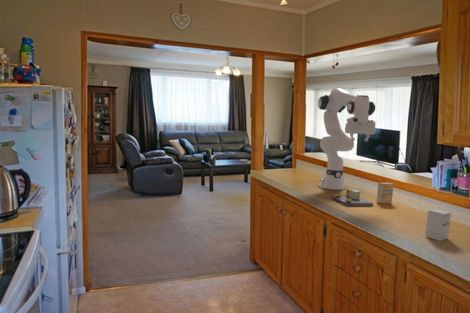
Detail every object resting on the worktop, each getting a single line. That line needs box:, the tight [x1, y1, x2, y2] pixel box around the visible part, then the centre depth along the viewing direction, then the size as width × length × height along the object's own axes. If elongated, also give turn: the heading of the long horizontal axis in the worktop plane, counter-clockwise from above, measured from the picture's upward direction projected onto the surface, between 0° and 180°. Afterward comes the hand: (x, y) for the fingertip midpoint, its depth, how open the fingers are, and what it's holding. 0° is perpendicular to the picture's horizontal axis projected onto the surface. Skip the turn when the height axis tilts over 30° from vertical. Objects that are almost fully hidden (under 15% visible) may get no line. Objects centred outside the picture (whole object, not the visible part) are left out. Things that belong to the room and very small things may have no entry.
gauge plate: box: [330, 192, 374, 207], centre depth 247 cm, size 20×18×4 cm
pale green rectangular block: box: [351, 189, 361, 199], centre depth 248 cm, size 4×4×5 cm
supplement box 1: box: [376, 182, 395, 205], centre depth 249 cm, size 8×5×13 cm, turn 105°
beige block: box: [345, 188, 355, 198], centre depth 254 cm, size 4×4×5 cm
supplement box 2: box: [425, 208, 452, 242], centre depth 180 cm, size 7×7×13 cm
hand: (359, 141), depth 253 cm, fingers open, 8 cm apart
